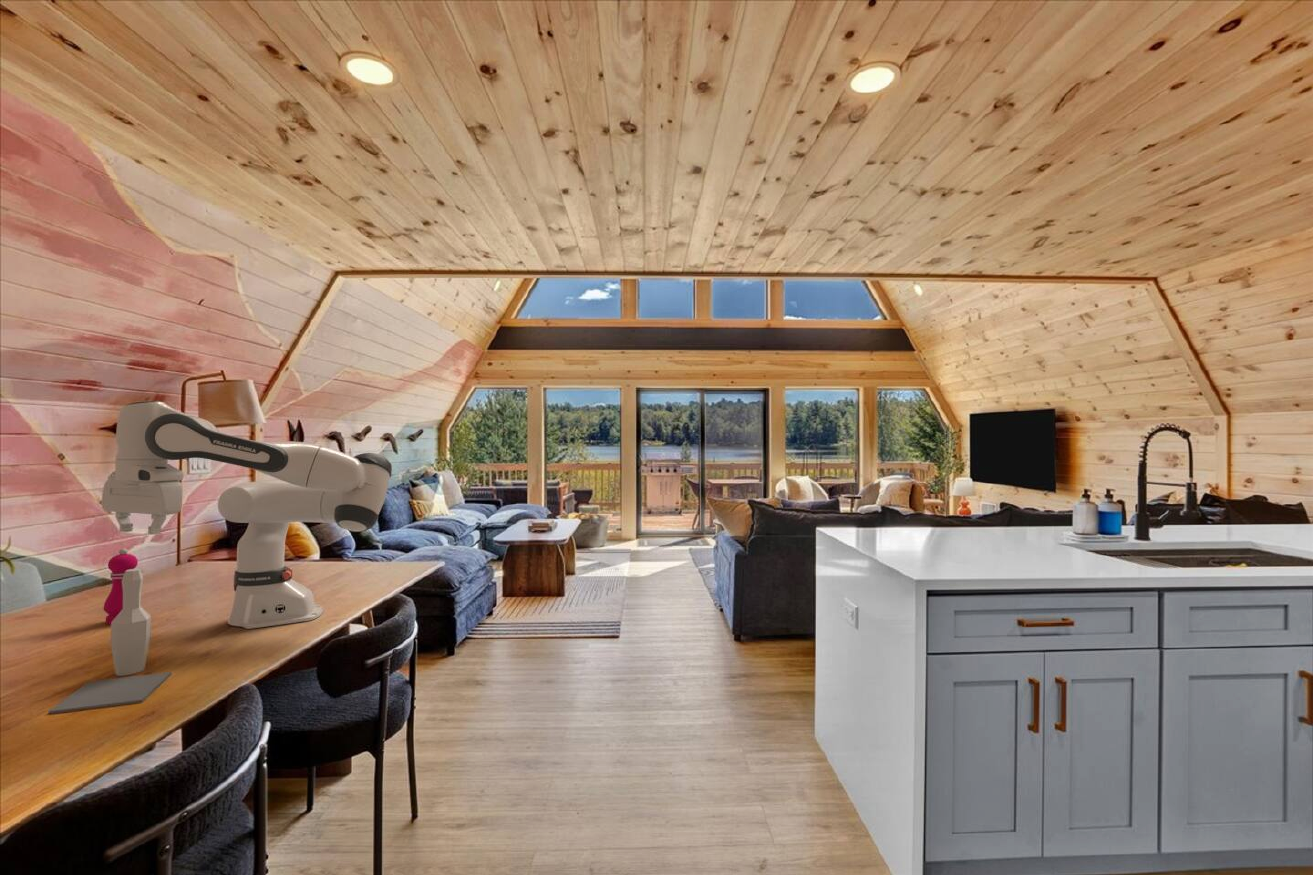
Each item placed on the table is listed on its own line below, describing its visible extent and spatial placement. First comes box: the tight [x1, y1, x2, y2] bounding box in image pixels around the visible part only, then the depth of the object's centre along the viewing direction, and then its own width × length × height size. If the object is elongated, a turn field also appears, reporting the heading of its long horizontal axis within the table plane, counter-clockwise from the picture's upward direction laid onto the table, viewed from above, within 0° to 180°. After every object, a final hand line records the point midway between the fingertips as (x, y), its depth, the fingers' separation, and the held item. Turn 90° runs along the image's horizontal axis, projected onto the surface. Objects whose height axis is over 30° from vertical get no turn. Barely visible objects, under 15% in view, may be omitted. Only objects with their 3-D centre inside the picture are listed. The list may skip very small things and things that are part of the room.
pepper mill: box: [103, 548, 139, 626], centre depth 156 cm, size 7×7×20 cm
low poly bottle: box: [110, 568, 152, 677], centre depth 123 cm, size 6×6×22 cm
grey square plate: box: [48, 671, 172, 715], centre depth 113 cm, size 14×14×1 cm
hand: (140, 532), depth 129 cm, fingers open, 8 cm apart
